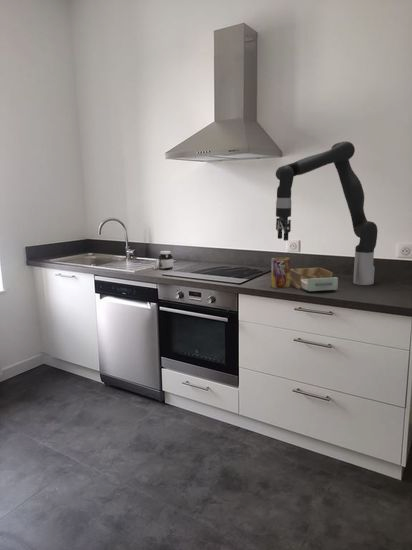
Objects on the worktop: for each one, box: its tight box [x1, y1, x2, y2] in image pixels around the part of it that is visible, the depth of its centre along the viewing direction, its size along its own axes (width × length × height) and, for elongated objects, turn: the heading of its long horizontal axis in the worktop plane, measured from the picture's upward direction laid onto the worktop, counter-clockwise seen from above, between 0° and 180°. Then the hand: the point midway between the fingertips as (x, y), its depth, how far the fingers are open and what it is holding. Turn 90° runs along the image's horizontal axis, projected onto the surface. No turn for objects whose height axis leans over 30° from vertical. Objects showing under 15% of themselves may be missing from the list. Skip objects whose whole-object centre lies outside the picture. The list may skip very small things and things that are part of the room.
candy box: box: [270, 256, 291, 289], centre depth 214 cm, size 9×4×15 cm, turn 96°
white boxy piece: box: [301, 276, 339, 292], centre depth 206 cm, size 15×15×6 cm
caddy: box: [289, 267, 333, 290], centre depth 216 cm, size 18×14×8 cm
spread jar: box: [153, 250, 174, 271], centre depth 268 cm, size 12×11×12 cm
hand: (282, 239), depth 208 cm, fingers open, 8 cm apart
